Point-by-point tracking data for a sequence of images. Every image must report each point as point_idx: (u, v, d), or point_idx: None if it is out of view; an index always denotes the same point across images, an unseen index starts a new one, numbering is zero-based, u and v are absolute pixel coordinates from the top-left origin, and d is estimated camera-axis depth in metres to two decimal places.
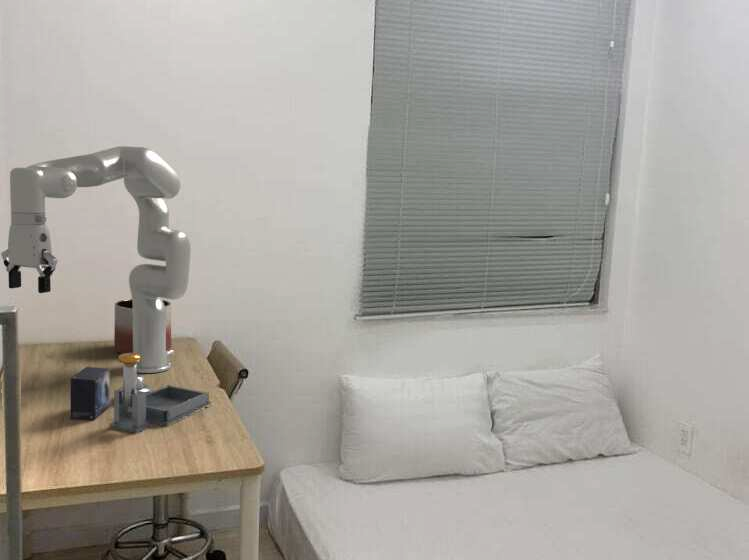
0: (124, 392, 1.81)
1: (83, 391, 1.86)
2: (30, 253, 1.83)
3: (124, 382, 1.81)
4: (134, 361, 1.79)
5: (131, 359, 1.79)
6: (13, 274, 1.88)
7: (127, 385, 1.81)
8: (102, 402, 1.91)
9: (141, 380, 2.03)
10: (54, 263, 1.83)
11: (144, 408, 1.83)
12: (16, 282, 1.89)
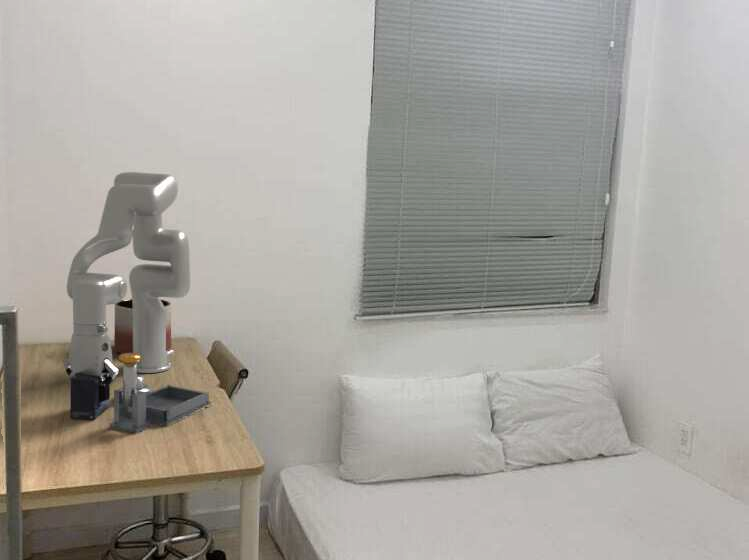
0: (124, 392, 1.81)
1: (83, 390, 1.86)
2: (92, 363, 1.87)
3: (124, 382, 1.81)
4: (134, 361, 1.79)
5: (131, 359, 1.79)
6: None
7: (127, 385, 1.81)
8: (102, 402, 1.91)
9: (141, 380, 2.03)
10: (115, 374, 1.87)
11: (144, 408, 1.83)
12: None
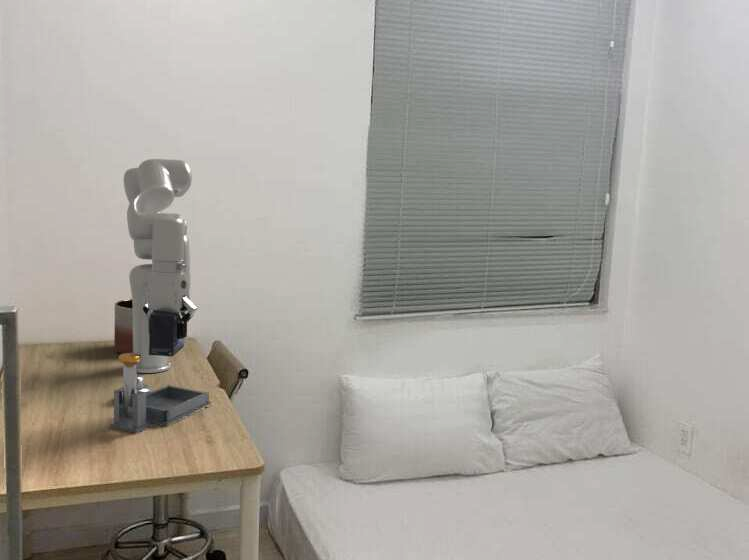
0: (124, 392, 1.81)
1: (162, 327, 1.88)
2: (171, 300, 1.89)
3: (124, 382, 1.81)
4: (134, 361, 1.79)
5: (131, 359, 1.79)
6: None
7: (127, 385, 1.81)
8: (179, 340, 1.93)
9: (141, 380, 2.03)
10: (193, 311, 1.89)
11: (144, 408, 1.83)
12: None
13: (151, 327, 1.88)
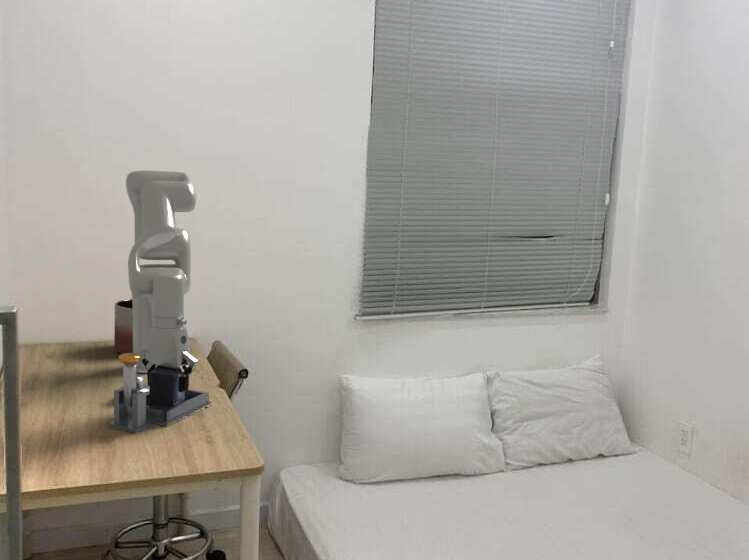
0: (124, 392, 1.81)
1: (162, 384, 1.90)
2: (172, 355, 1.91)
3: (124, 382, 1.81)
4: (134, 361, 1.79)
5: (131, 359, 1.79)
6: None
7: (127, 385, 1.81)
8: (179, 396, 1.95)
9: (141, 380, 2.03)
10: (195, 364, 1.91)
11: (144, 408, 1.83)
12: None
13: (151, 385, 1.90)
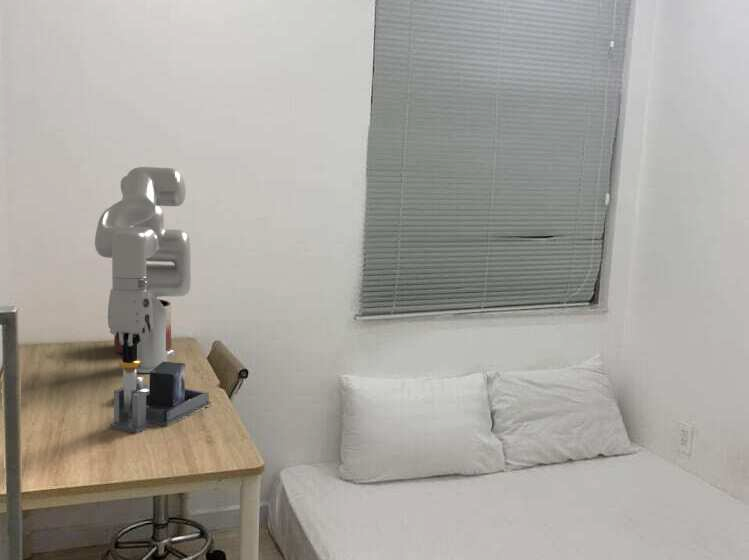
0: (124, 397, 1.82)
1: (162, 384, 1.90)
2: (133, 319, 1.76)
3: (124, 387, 1.81)
4: (134, 366, 1.80)
5: (131, 364, 1.79)
6: None
7: (127, 390, 1.81)
8: (179, 396, 1.95)
9: (141, 380, 2.03)
10: (144, 339, 1.78)
11: (144, 408, 1.83)
12: None
13: (151, 385, 1.90)
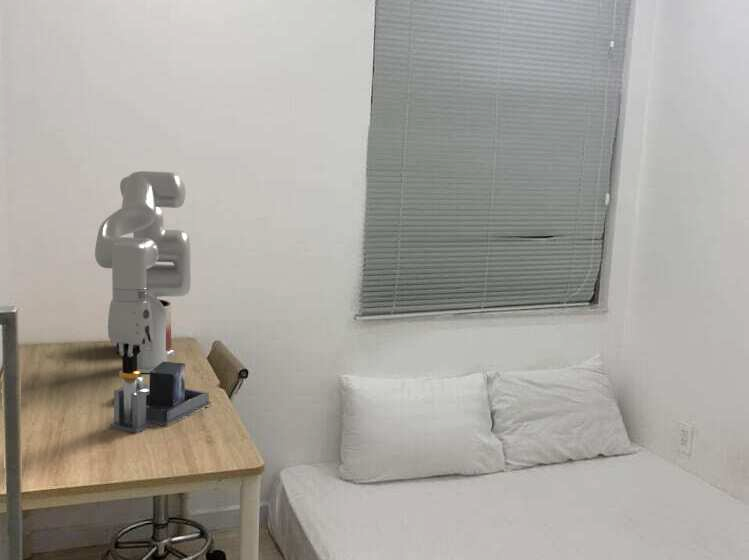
0: (124, 408, 1.82)
1: (162, 384, 1.90)
2: (133, 330, 1.77)
3: (124, 398, 1.82)
4: (134, 377, 1.80)
5: (131, 375, 1.80)
6: None
7: (127, 401, 1.81)
8: (179, 396, 1.95)
9: (141, 380, 2.03)
10: (144, 350, 1.79)
11: (144, 408, 1.83)
12: None
13: (151, 385, 1.90)
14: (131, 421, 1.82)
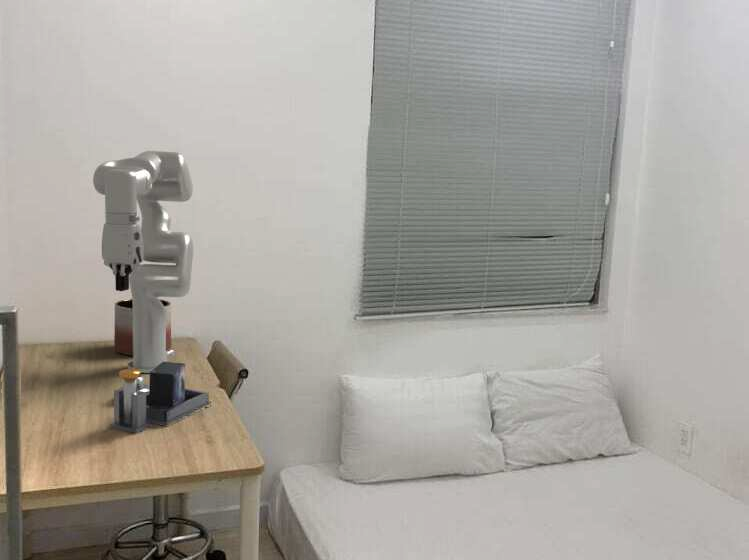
0: (124, 408, 1.82)
1: (162, 384, 1.90)
2: (125, 251, 1.92)
3: (124, 398, 1.82)
4: (134, 377, 1.80)
5: (131, 375, 1.80)
6: None
7: (127, 401, 1.81)
8: (179, 396, 1.95)
9: (141, 380, 2.03)
10: (136, 269, 1.94)
11: (144, 408, 1.83)
12: None
13: (151, 385, 1.90)
14: (131, 421, 1.82)
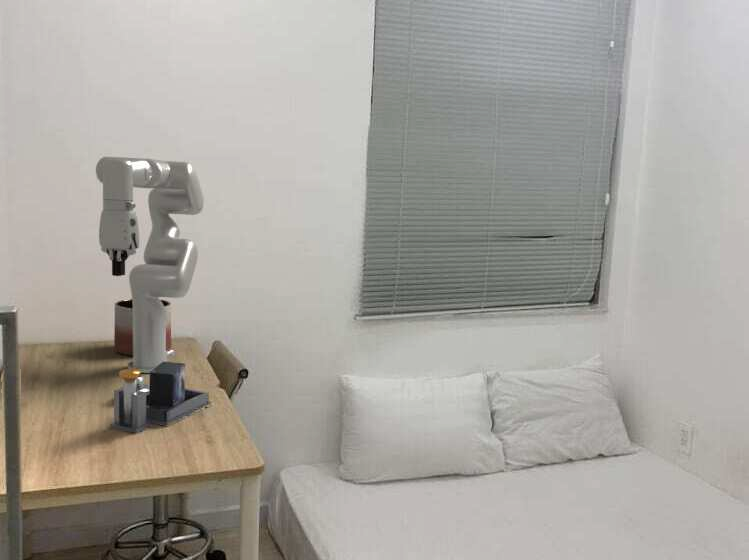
0: (124, 408, 1.82)
1: (162, 384, 1.90)
2: (121, 237, 2.00)
3: (124, 398, 1.82)
4: (134, 377, 1.80)
5: (131, 375, 1.80)
6: None
7: (127, 401, 1.81)
8: (179, 396, 1.95)
9: (141, 380, 2.03)
10: (131, 254, 2.02)
11: (144, 408, 1.83)
12: None
13: (151, 385, 1.90)
14: (131, 421, 1.82)
